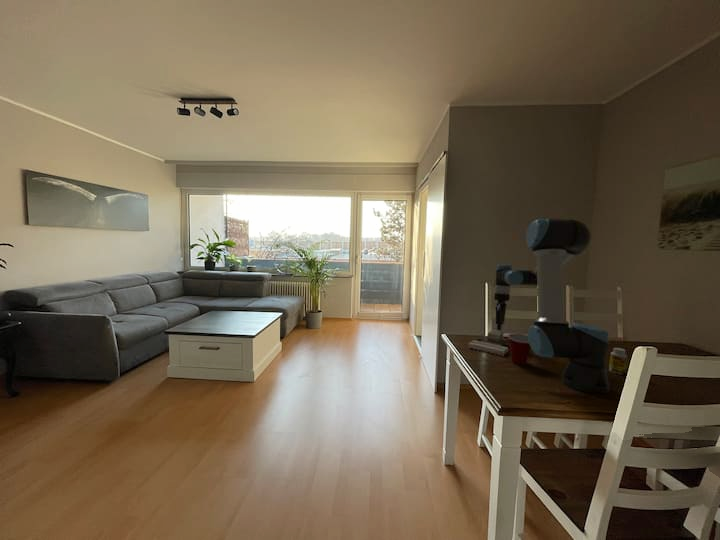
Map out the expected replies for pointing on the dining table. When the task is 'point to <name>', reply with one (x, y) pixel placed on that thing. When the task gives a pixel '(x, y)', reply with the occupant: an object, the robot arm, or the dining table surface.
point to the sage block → (495, 336)
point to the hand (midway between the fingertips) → (499, 335)
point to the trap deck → (490, 345)
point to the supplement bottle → (618, 361)
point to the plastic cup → (519, 348)
